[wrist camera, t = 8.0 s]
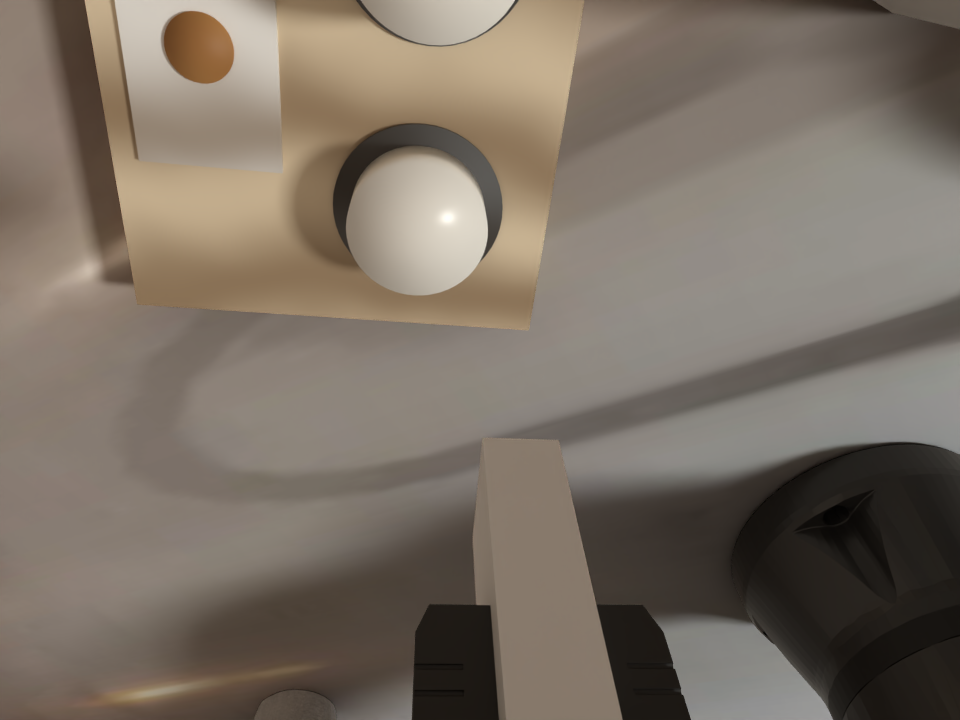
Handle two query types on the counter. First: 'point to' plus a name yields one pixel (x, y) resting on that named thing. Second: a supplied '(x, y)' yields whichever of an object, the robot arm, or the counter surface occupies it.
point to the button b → (438, 18)
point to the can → (926, 10)
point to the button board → (321, 148)
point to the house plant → (296, 707)
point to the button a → (417, 221)
